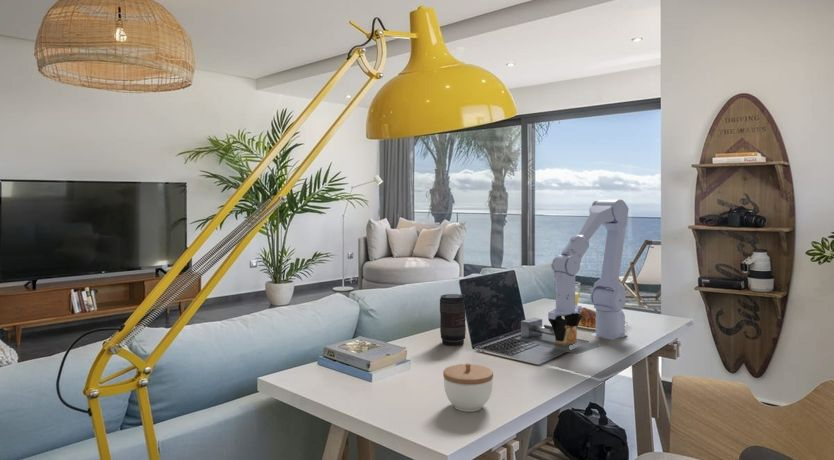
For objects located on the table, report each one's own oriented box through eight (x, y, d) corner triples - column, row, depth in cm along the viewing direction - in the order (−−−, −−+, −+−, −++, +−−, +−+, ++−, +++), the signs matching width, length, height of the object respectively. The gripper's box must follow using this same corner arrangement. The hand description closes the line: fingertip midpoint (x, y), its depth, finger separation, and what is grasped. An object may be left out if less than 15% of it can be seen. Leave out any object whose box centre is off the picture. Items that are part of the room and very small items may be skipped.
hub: (565, 341, 167) (565, 323, 166) (576, 343, 164) (576, 326, 163) (554, 344, 163) (554, 326, 163) (566, 346, 160) (566, 328, 160)
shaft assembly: (534, 333, 177) (534, 317, 176) (561, 339, 169) (561, 323, 168) (521, 337, 172) (521, 320, 172) (548, 343, 164) (548, 326, 164)
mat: (539, 333, 179) (539, 331, 179) (601, 347, 161) (601, 345, 161) (513, 340, 171) (513, 338, 171) (576, 355, 153) (576, 353, 153)
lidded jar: (459, 394, 124) (459, 354, 124) (501, 403, 118) (501, 361, 118) (434, 409, 116) (433, 366, 115) (478, 420, 110) (478, 375, 109)
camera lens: (466, 340, 172) (465, 293, 171) (465, 347, 164) (465, 298, 163) (440, 339, 172) (440, 293, 172) (439, 346, 164) (438, 297, 164)
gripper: (562, 299, 155) (562, 346, 156) (590, 293, 164) (590, 337, 165) (542, 296, 160) (542, 341, 161) (570, 290, 170) (570, 333, 171)
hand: (565, 339), depth 163 cm, fingers closed on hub, 5 cm apart
